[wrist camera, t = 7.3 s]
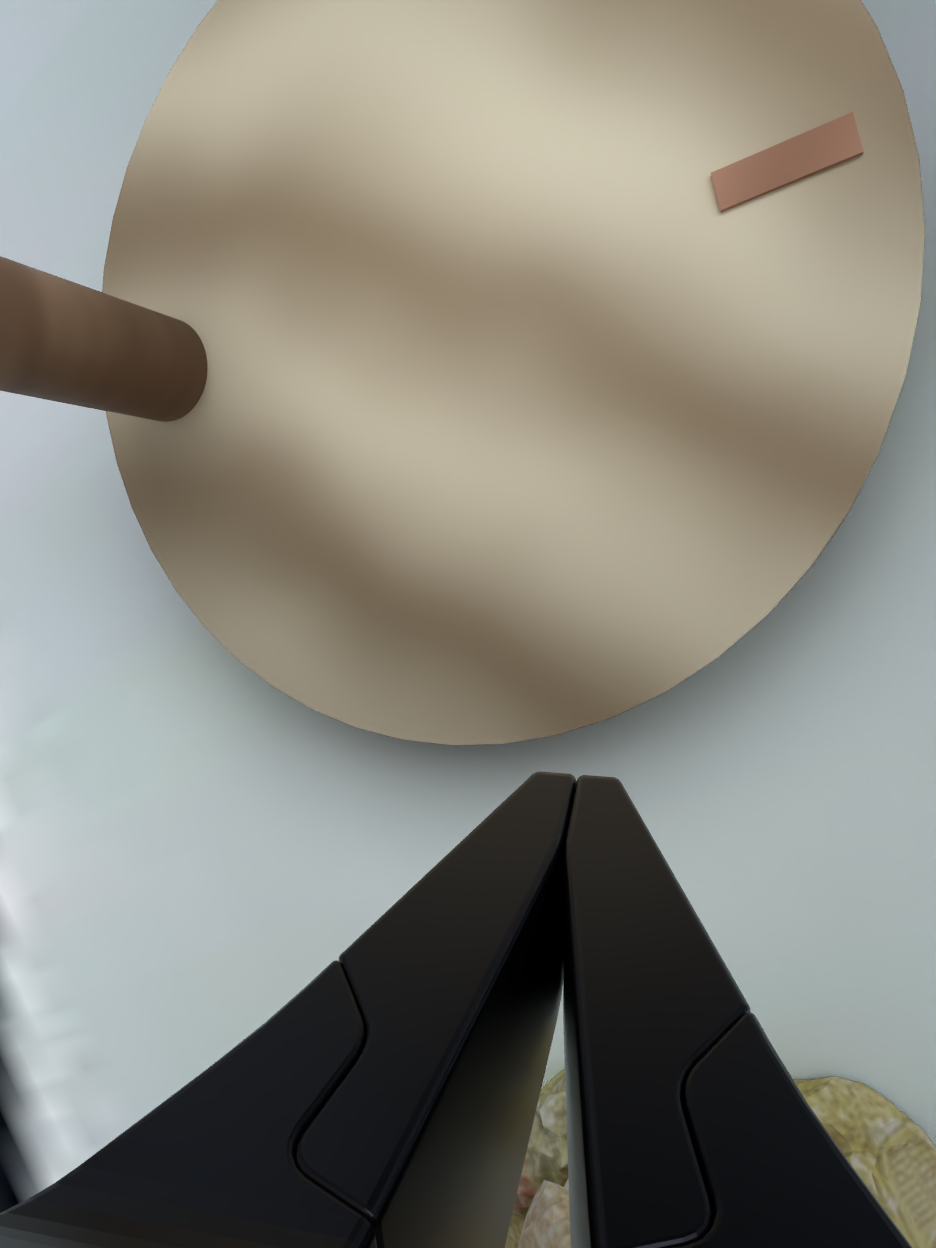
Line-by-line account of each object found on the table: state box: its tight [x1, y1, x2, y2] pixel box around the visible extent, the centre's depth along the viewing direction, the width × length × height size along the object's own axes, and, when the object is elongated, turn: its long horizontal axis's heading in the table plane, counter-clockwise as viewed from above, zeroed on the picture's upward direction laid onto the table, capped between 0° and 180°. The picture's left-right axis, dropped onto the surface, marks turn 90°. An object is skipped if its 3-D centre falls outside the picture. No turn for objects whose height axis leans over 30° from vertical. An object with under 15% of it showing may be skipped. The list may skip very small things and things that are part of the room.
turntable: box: [0, 0, 925, 745], centre depth 15 cm, size 18×18×11 cm
